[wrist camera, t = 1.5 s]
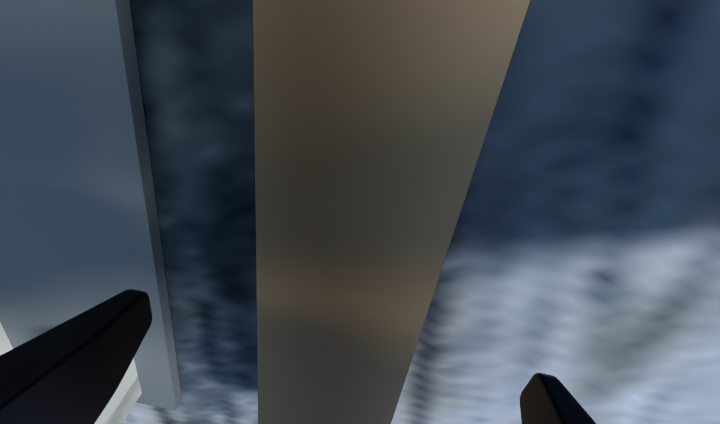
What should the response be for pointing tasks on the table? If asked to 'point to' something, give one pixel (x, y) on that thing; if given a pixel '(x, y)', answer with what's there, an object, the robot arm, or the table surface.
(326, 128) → the wooden block
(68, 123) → the end cap frame
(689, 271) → the table surface
